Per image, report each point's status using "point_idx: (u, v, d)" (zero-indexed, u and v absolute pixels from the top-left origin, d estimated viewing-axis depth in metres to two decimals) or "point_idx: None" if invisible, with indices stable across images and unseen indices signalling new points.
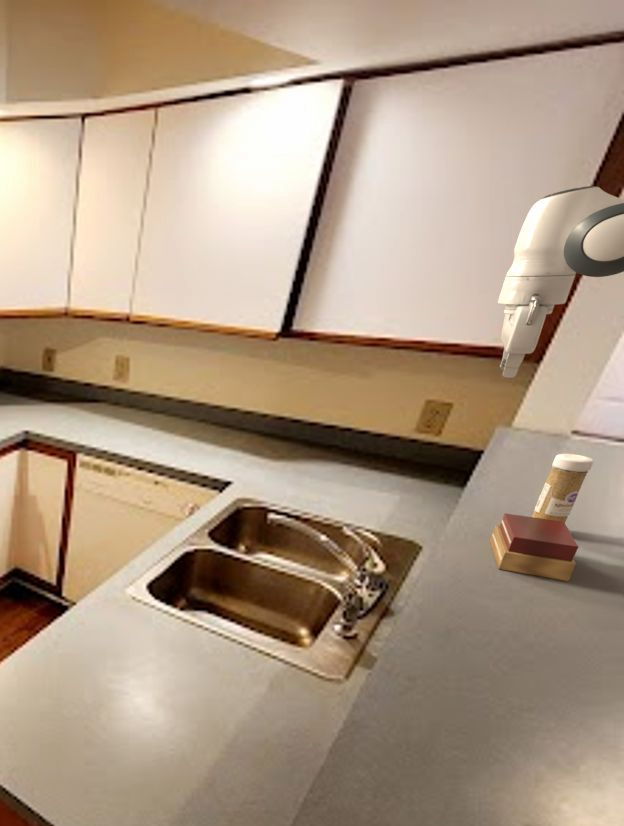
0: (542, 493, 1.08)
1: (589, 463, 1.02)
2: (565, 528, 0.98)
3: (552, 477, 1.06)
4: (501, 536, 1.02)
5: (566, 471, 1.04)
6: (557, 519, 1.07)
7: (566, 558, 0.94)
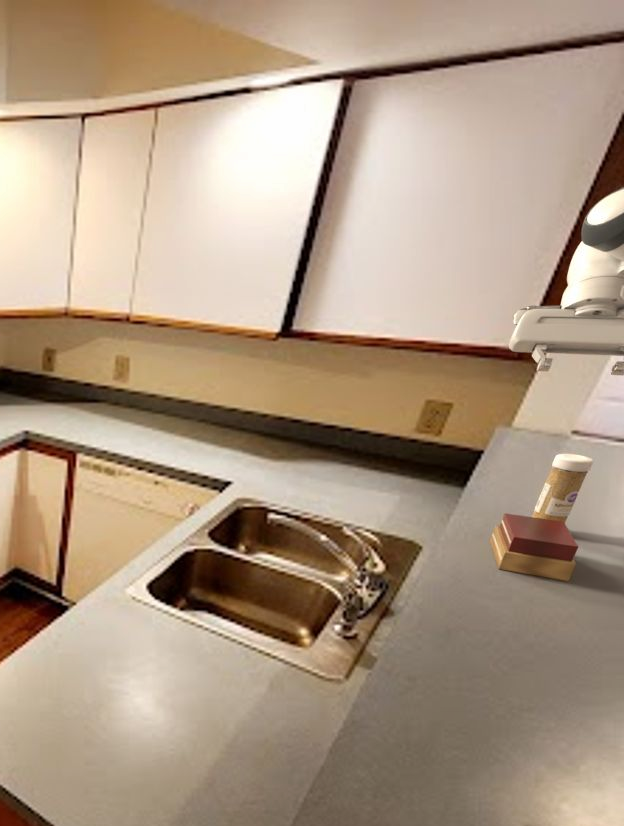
0: (542, 493, 1.08)
1: (589, 463, 1.02)
2: (565, 528, 0.98)
3: (552, 477, 1.06)
4: (501, 536, 1.02)
5: (566, 471, 1.04)
6: (557, 519, 1.07)
7: (566, 558, 0.94)
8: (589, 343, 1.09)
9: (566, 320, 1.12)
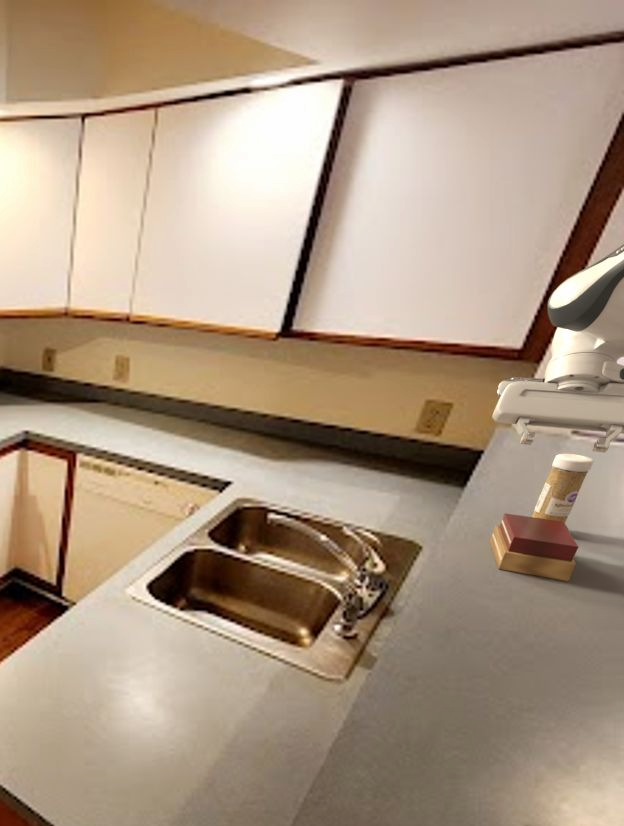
0: (542, 493, 1.08)
1: (589, 463, 1.02)
2: (565, 528, 0.98)
3: (552, 477, 1.06)
4: (501, 536, 1.02)
5: (566, 471, 1.04)
6: (557, 519, 1.07)
7: (566, 558, 0.94)
8: (571, 419, 1.10)
9: (549, 394, 1.12)
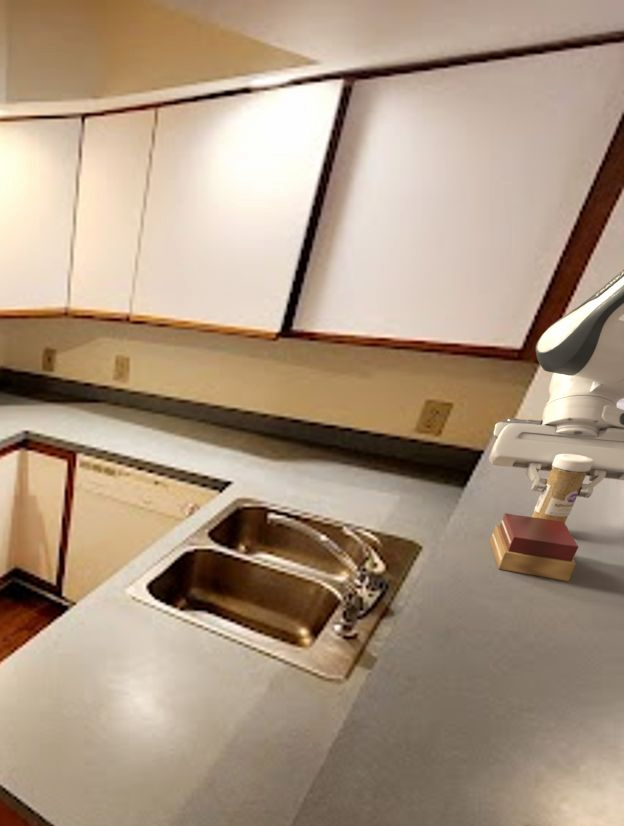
0: (542, 493, 1.08)
1: (589, 463, 1.02)
2: (565, 528, 0.98)
3: (552, 477, 1.06)
4: (501, 536, 1.02)
5: (566, 471, 1.04)
6: (557, 519, 1.07)
7: (566, 558, 0.94)
8: None
9: (547, 438, 1.09)
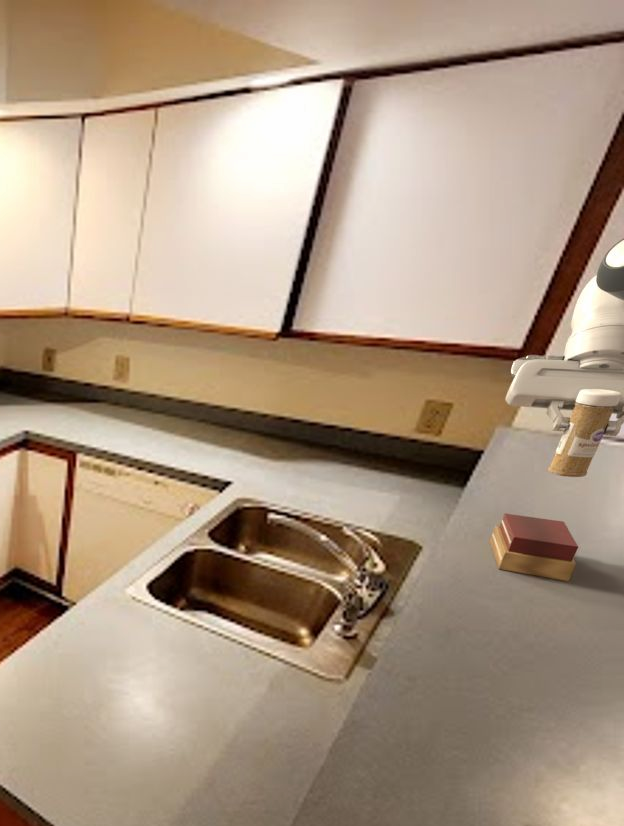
0: (564, 433, 0.99)
1: (617, 396, 0.94)
2: (565, 528, 0.98)
3: (576, 414, 0.97)
4: (501, 536, 1.02)
5: (591, 407, 0.95)
6: (581, 460, 0.98)
7: (566, 558, 0.94)
8: None
9: (570, 373, 1.00)
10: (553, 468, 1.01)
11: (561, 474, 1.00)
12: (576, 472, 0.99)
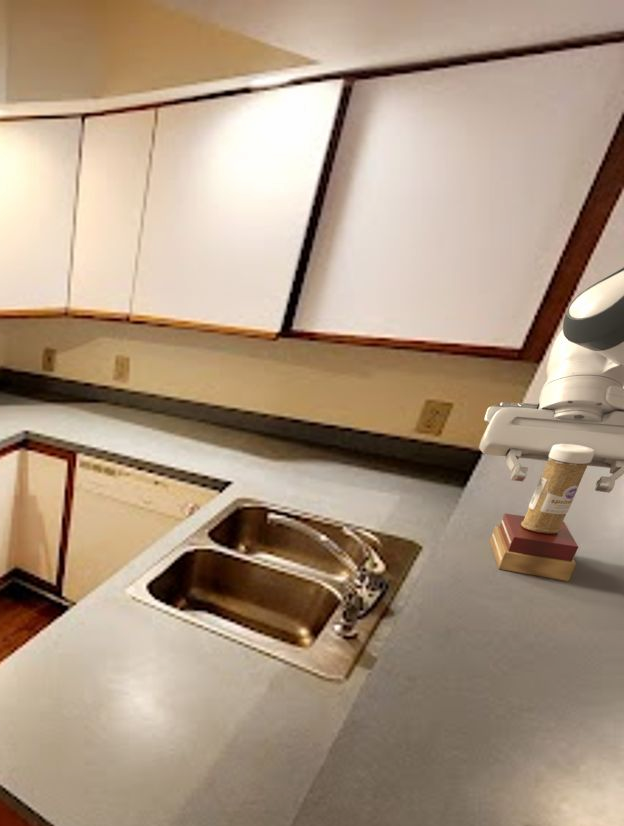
0: (537, 488, 0.96)
1: (590, 453, 0.91)
2: (565, 528, 0.98)
3: (548, 470, 0.94)
4: (501, 536, 1.02)
5: (564, 463, 0.92)
6: (554, 517, 0.95)
7: (566, 558, 0.94)
8: None
9: (544, 423, 0.97)
10: (526, 523, 0.98)
11: (534, 530, 0.97)
12: (549, 529, 0.96)
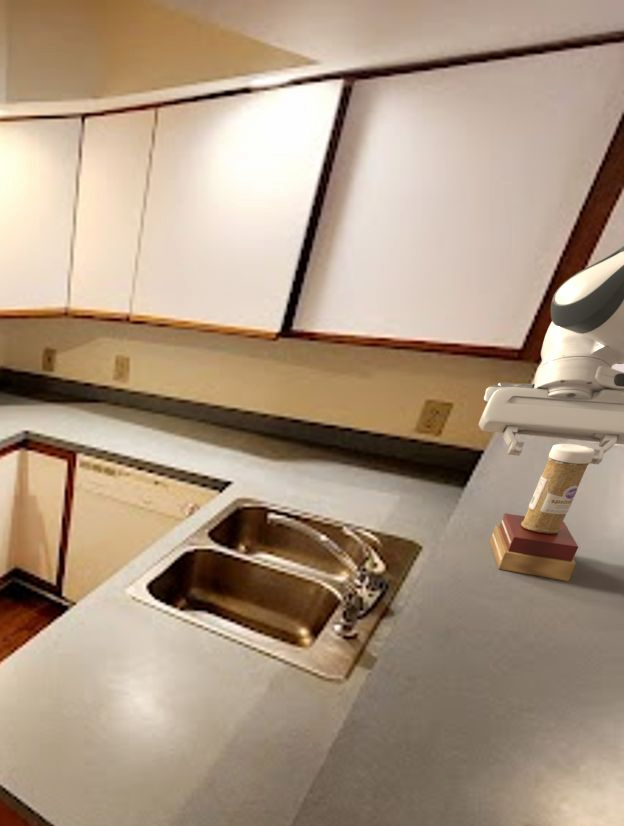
0: (537, 488, 0.96)
1: (590, 453, 0.91)
2: (565, 528, 0.98)
3: (548, 470, 0.94)
4: (501, 536, 1.02)
5: (564, 463, 0.92)
6: (554, 517, 0.95)
7: (566, 558, 0.94)
8: (562, 428, 1.02)
9: (539, 401, 1.05)
10: (526, 523, 0.98)
11: (534, 530, 0.97)
12: (549, 529, 0.96)
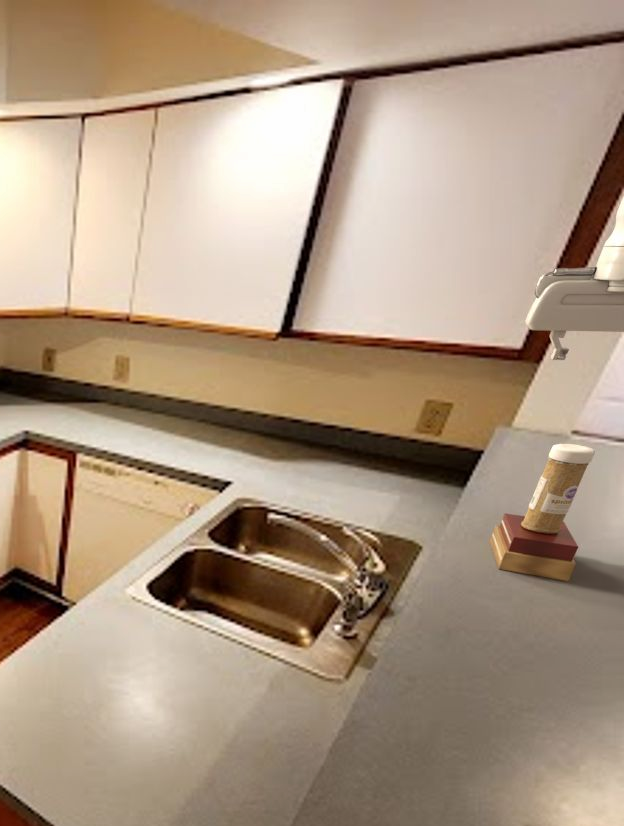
0: (537, 488, 0.96)
1: (590, 453, 0.91)
2: (565, 528, 0.98)
3: (548, 470, 0.94)
4: (501, 536, 1.02)
5: (564, 463, 0.92)
6: (554, 517, 0.95)
7: (566, 558, 0.94)
8: (614, 331, 0.95)
9: (595, 298, 0.95)
10: (526, 523, 0.98)
11: (534, 530, 0.97)
12: (549, 529, 0.96)
